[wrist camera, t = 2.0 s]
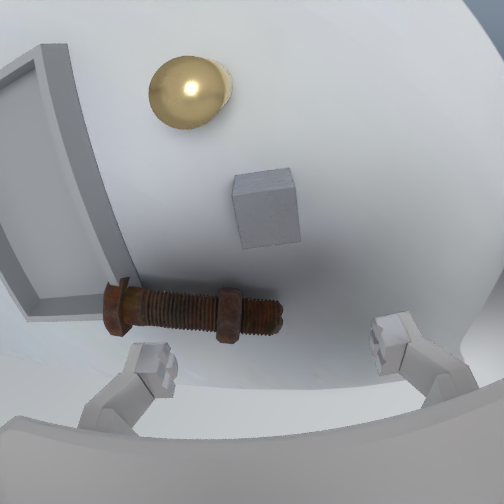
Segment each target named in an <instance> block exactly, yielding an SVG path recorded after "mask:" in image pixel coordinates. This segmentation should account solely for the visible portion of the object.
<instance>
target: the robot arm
mask: <svg viewBox="0 0 504 504" xmlns="http://www.w3.org/2000/svg"><path fill="white" fill-rule="evenodd" d="M371 326H372V328H373V330H372V331H371V332H370V337H369V340H370V348H371V352H372V355H374V356H375V357H376V362H375V364H376V367H377V370H378V373H379V376H382V375H387V374H392V373H397V372H399V374H400V375H402V376H403V377H404V378H405V379H406V380H407V381H408V382H409V383H411V384H412V385H413V386H414V387H415V388H416V389H418V391H420V392H421V393H422V394H423V395H424V396H425V397H426V400H425V401H424V403H423V405H422V407H421V409H419V410H415V411H411V412H408V413H404V414H401V415H397V416H393V417H389V418H384V419H380V420H376V421H371V422H367V423H362V424H357V425H352V426H347V427H341V428H335V429H329V430H323V431H316V432H309V433H301V434H293V435H285V436H273V437H260V438H245V439H244V438H243V439H209V440H208V439H205V440H204V439H203V440H202V439H167V438H151V437H139V435H138V434H137V433H135V432H134V431H133V429H132V427H133V426H134V425H135V424H136V422H137V421H138V420H139V419H140V417H141V416H142V415H143V414H144V412H145V411H146V410H147V408H148V407H149V406H150V405H151V403H152V402H153V401H154V398H173V395H174V390H175V383H174V382H173V380H174V379H175V378H176V377H177V373H178V363H177V359H176V357H175V355H174V354H172V353H171V352H170V350H171V347H170V345H169V344H168V343H167V342H158V343H134V344H133V345H132V346H131V348H130V351H129V354H128V357H127V360H126V364H125V367H124V370H123V373H119V374H118V375H117V376H116V377H115V378H114V379H113V380H112V381H110V382H109V383H108V384H107V385H106V386H105V387H104V388H103V389H102V390H101V391H100V392H99V393H98V394H96V395H95V396H94V397H93V398H92V399H91V400H90V401H89V402H88V403H87V404H86V405H85V406H84V409H83V412H82V415H81V418H80V421H79V424H78V427H77V428H72V427H67V426H62V425H57V424H53V423H48V422H44V421H40V420H36V419H32V418H28V417H24V416H15V417H14V418H12V419H11V420H9V421H8V422H7V423H6V424H4V425H3V426H2V427H1V428H0V504H504V379H501V380H499V381H497V382H494V383H492V384H490V385H487V386H485V387H483V388H480V389H479V387H478V385H477V382H476V380H475V378H474V376H473V374H472V372H471V370H470V368H469V366H468V365H467V364H465V363H464V362H462V361H461V360H459V359H457V358H456V357H454V356H453V355H451V354H450V353H448V352H446V351H445V350H443V349H442V348H440V347H439V346H437V345H435V344H434V343H432V342H431V341H429V340H428V339H423V338H422V336H421V334H420V332H419V330H418V328H417V326H416V324H415V322H414V320H413V318H412V316H411V314H410V312H409V311H404V312H399V313H394V314H389V315H384V316H379V317H374V318H373V319H372V322H371Z"/></svg>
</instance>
